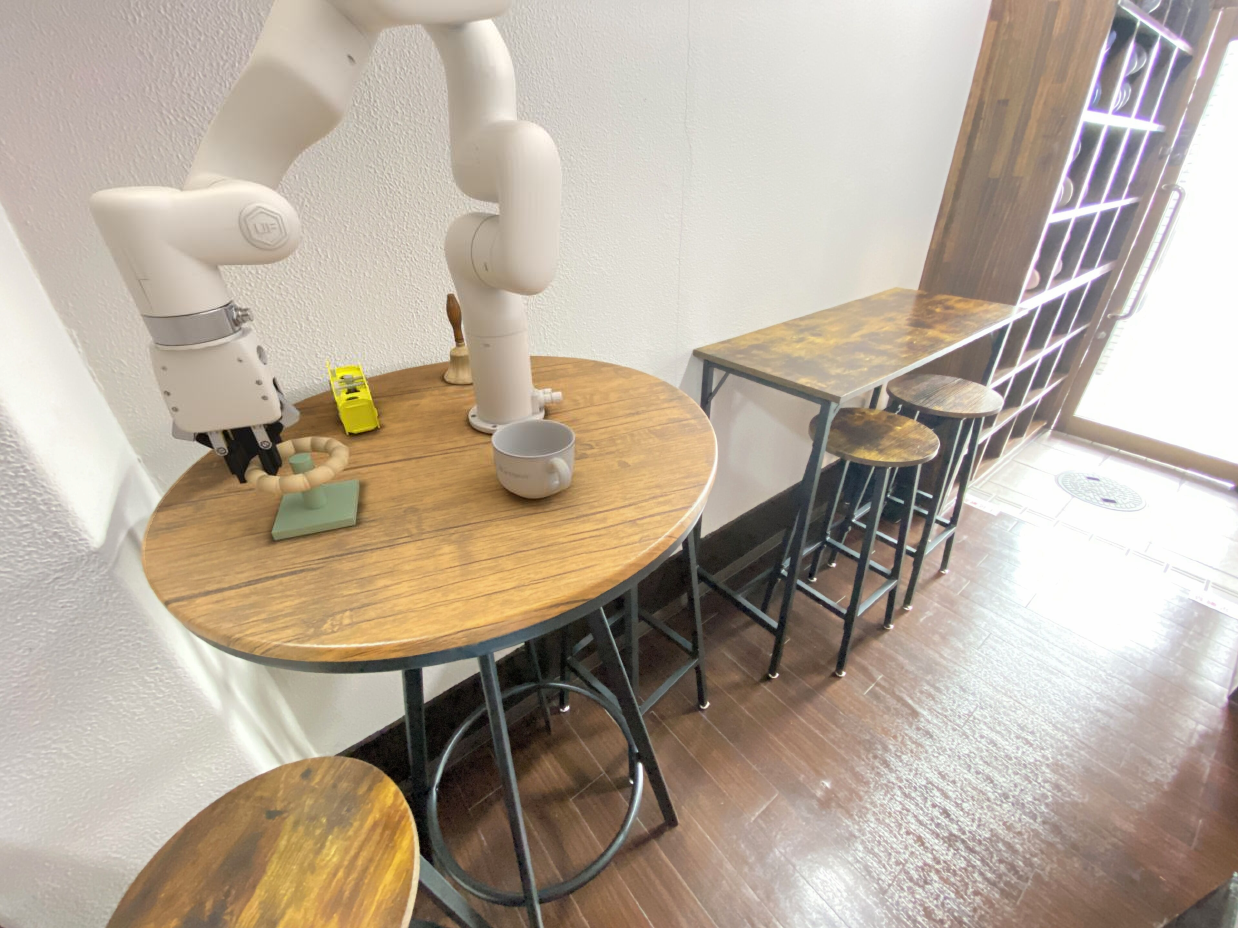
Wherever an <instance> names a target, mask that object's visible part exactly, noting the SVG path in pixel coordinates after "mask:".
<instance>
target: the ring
mask: <svg viewBox="0 0 1238 928" xmlns="http://www.w3.org/2000/svg"><path fill="white" fill-rule="evenodd" d="M276 447H277V449H278V452H279V454H280V456H281V459H282V461H283V460H287V459H289V458H290V457H292V456H293V455H296V454H299V453H308V454H310V453H321V454H328V455H329V457H330V458H328V460H326V461H325V462H324V463H323V464H321V465H320V466H318V467H315V469H312V470H310V471H308V472H305V473H303V474H297V475H294V474H290V475H285V476H279V475H277V476H271V475H268V474H267V473H266V472H265V471H264V468H263V466H262V464H261V461H260V459H259V457H258V455H257V456H256V457H254V458H253V459H251V461H250V462H249V465H248V467H247V470H246V472H245V479H246V481H247V482H246V483H248V484H249V485H250V486H251V487H252V488H253V489H255V490H256V491H257V492H259V493H266V494H273V495H283V494H289V493H295V492H300V491H306V490H310V489H312V488H315V487H317V486H319V485H324V484H327V483H328V482H331V481H333V480H334V479H335V478H336V477H337V476H339V474H341V473H342V472H343V471H344V470H345V469H346V468H347V467H348V465H349V460H350V459H349V458H350V449H349V448H348V447H347V446H346V445H345V444H343V443H342V442H340V440H338V439H336V438H333V437H326V436H317V435H312V436H306V437H305V436H304V437H300V438H299V437H297V438H291V439H288V440H285V441H283V443H280V444H277V445H276Z"/></svg>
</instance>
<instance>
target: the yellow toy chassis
mask: <svg viewBox="0 0 1238 928" xmlns="http://www.w3.org/2000/svg"><path fill="white" fill-rule="evenodd" d="M325 362H326V367H327V370H328V371H327V372H328V376H329V379H327V380H328V385H329V389H330V393H331V395H332V398H333V402H334V403H336V405H337V406H336V410H337V413H338V417H339V420H340V421H341V423H342V424H343V427H344V430H345V433H346V435H347V436H349V433H351V434H360V433H364V432H368V431H369V432H370V431H373V430H374V429H375V428H378V429H380V428H381V426H380V423H379V422H380V421H379V419H378V416H379V413H378V410H377V408H376V407H375V403H374V401H373V398H372V394H371V389H370V386H369V381H368V380H367V375H365V374H364V372H363V369H362V366H361V363H360V361H357V365H358V366H357V365H354V364H350V365H344V366H339V367H335V365H334V363H330V362H329V361H328V359H325Z"/></svg>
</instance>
